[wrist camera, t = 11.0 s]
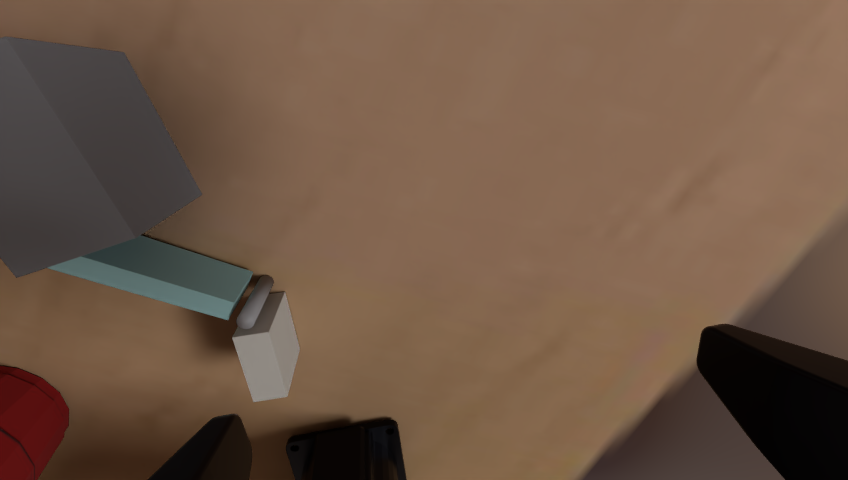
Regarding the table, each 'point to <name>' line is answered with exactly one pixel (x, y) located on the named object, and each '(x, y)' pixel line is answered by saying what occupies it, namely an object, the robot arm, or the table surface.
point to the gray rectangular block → (79, 155)
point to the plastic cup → (28, 423)
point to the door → (164, 275)
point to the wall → (266, 342)
